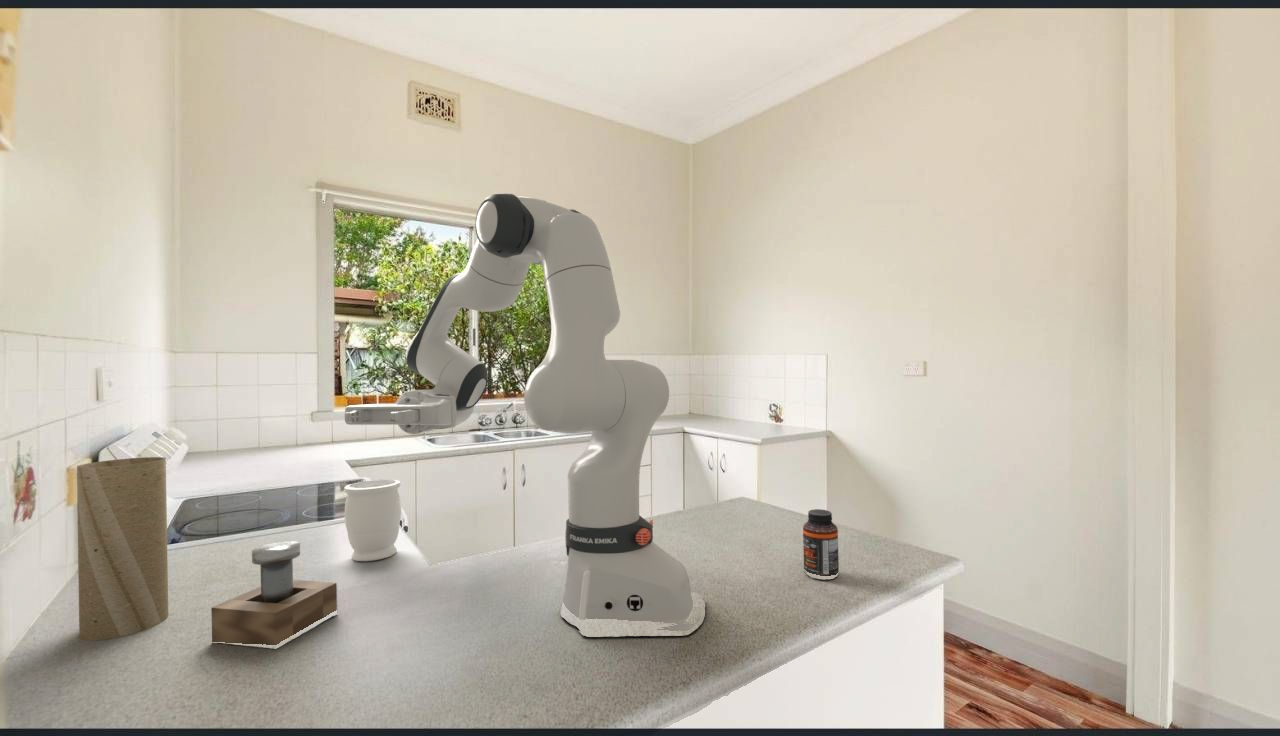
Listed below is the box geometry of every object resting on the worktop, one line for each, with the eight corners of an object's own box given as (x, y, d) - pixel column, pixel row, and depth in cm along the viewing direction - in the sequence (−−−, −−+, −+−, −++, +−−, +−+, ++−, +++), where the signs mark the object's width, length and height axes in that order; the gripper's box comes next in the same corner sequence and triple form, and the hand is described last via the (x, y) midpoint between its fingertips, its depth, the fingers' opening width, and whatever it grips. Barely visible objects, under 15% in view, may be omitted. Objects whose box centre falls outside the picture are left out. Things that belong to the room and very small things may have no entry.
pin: (310, 620, 84) (309, 542, 84) (277, 639, 78) (275, 555, 78) (278, 617, 85) (277, 540, 86) (242, 635, 80) (241, 553, 80)
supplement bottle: (796, 572, 99) (795, 510, 99) (822, 567, 101) (820, 506, 102) (820, 584, 94) (818, 517, 94) (846, 577, 96) (844, 513, 96)
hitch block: (337, 614, 86) (336, 582, 86) (276, 649, 75) (275, 613, 75) (278, 609, 88) (278, 578, 88) (212, 643, 78) (211, 607, 78)
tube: (102, 617, 87) (99, 460, 87) (179, 606, 91) (177, 455, 91) (62, 646, 78) (60, 470, 78) (150, 632, 81) (147, 464, 82)
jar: (404, 545, 121) (402, 477, 121) (399, 559, 111) (397, 485, 111) (350, 551, 118) (349, 481, 118) (340, 567, 108) (339, 490, 108)
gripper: (373, 396, 114) (321, 400, 100) (462, 395, 109) (420, 399, 96) (373, 427, 114) (321, 434, 100) (463, 427, 109) (420, 435, 96)
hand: (370, 417), depth 98 cm, fingers open, 8 cm apart
